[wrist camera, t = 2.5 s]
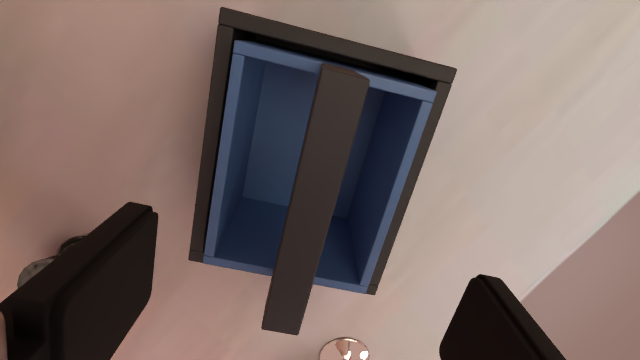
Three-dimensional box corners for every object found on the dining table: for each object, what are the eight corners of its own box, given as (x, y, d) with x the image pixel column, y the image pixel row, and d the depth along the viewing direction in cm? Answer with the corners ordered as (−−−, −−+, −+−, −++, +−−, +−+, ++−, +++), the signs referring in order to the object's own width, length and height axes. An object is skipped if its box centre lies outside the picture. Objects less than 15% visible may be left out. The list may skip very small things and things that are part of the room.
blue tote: (262, 40, 21) (209, 38, 11) (396, 75, 22) (474, 105, 11) (235, 198, 25) (176, 315, 14) (351, 222, 26) (376, 350, 15)
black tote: (248, 17, 21) (219, 6, 15) (415, 61, 23) (458, 68, 16) (220, 205, 26) (188, 260, 19) (360, 234, 27) (375, 295, 20)
